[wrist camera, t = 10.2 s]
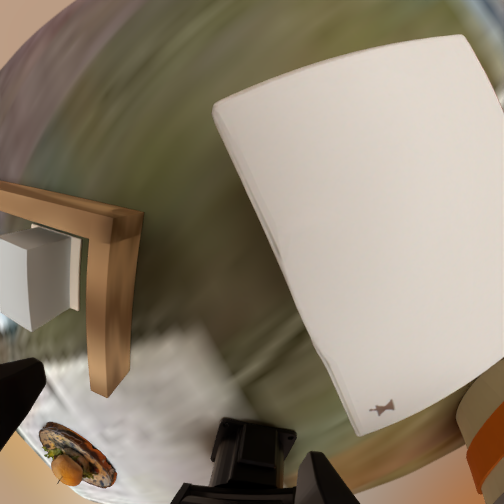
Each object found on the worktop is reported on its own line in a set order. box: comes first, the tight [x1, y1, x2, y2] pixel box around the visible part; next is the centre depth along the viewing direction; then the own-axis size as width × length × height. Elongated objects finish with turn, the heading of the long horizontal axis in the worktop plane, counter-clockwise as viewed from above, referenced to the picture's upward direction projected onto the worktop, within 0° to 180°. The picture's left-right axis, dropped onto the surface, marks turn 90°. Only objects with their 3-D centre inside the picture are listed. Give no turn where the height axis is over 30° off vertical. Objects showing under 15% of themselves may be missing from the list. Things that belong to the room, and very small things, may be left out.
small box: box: [212, 35, 504, 436], centre depth 11 cm, size 8×6×13 cm
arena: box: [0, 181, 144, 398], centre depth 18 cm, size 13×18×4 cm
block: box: [0, 227, 72, 332], centre depth 17 cm, size 4×6×5 cm, turn 167°
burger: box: [39, 422, 117, 488], centre depth 22 cm, size 12×12×8 cm
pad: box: [31, 224, 82, 311], centre depth 20 cm, size 6×6×1 cm
